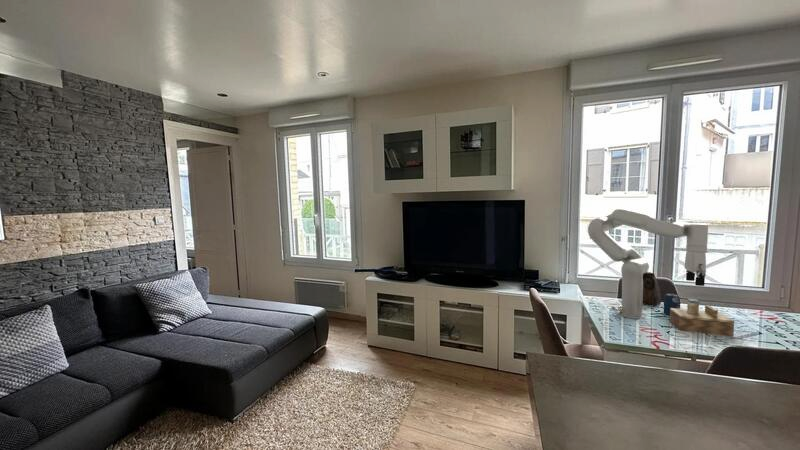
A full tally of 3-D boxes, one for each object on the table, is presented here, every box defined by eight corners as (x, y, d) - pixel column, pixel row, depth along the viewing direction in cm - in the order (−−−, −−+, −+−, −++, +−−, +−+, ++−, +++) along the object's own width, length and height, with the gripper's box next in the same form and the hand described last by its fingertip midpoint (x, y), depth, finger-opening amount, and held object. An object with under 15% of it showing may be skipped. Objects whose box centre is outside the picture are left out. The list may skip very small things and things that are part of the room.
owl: (656, 307, 191) (658, 274, 190) (631, 302, 201) (632, 271, 199) (662, 302, 199) (663, 271, 198) (637, 297, 209) (639, 267, 207)
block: (689, 328, 158) (690, 300, 157) (685, 325, 162) (687, 298, 161) (698, 329, 157) (699, 301, 156) (694, 326, 160) (696, 299, 159)
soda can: (681, 318, 173) (682, 297, 172) (665, 316, 176) (666, 295, 175) (677, 314, 179) (678, 293, 178) (661, 312, 182) (662, 292, 181)
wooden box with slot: (679, 332, 157) (680, 318, 156) (669, 323, 168) (670, 310, 167) (733, 338, 149) (734, 323, 149) (719, 328, 160) (720, 314, 160)
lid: (680, 317, 156) (680, 308, 156) (670, 309, 167) (670, 301, 167) (734, 323, 148) (734, 313, 148) (720, 314, 160) (720, 305, 159)
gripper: (679, 245, 165) (677, 278, 167) (695, 251, 149) (693, 287, 151) (697, 246, 163) (696, 279, 164) (716, 251, 147) (714, 288, 148)
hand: (694, 283), depth 157 cm, fingers open, 9 cm apart
